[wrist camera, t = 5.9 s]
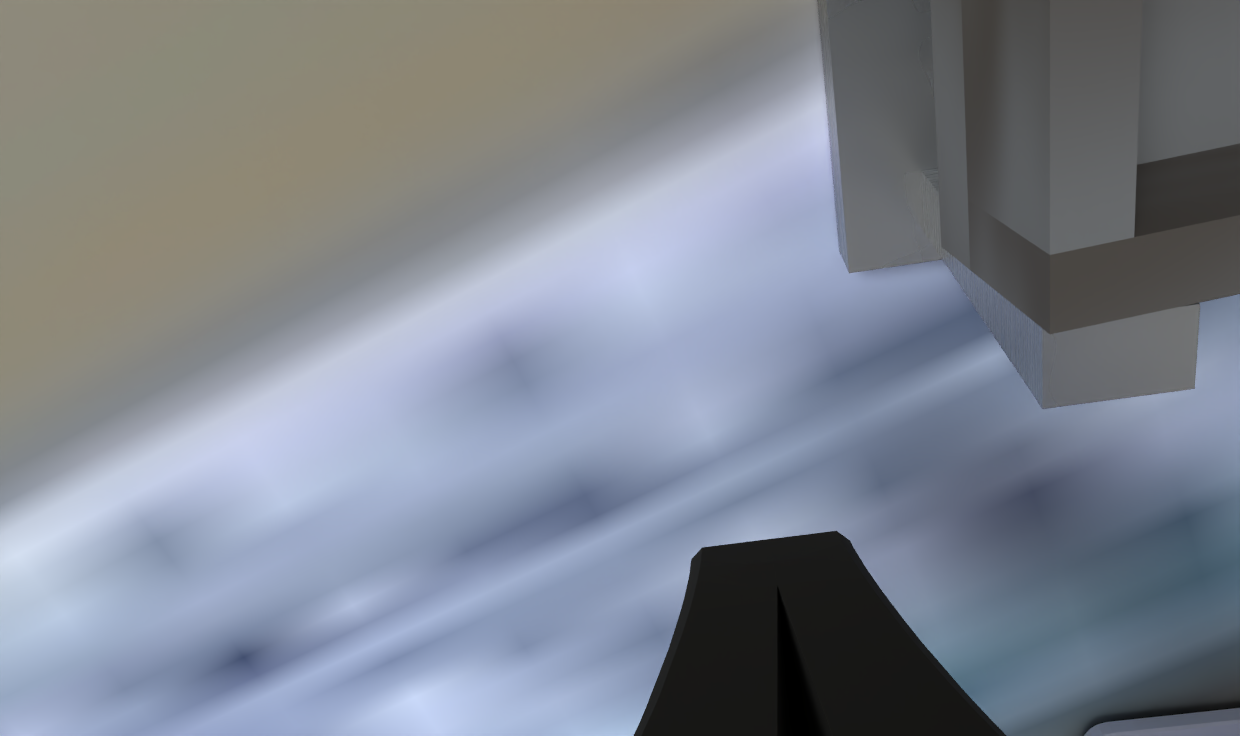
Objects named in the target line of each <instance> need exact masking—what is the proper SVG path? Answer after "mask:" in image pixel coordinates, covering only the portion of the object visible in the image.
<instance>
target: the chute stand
mask: <svg viewBox="0 0 1240 736" xmlns="http://www.w3.org/2000/svg"><path fill="white" fill-rule="evenodd" d="M818 12H819V23H820V35H821V46H822V58H823V69H824V81H825V92H826V104H827V115H828V126H829V138H830V149H831V161H832V172H833V184H834V195H835V207H836V218H837V230H838V241H839V252H840V254H841V256H842V258H843V261H844V263H845V265H846V267H847V270H848V272H849V273H854V272H861V271H867V270H874V269H881V268H888V267H895V266H901V265H908V264H915V263H922V262H929V261H935V260H943V261H944V263H945V264H946V266H947V267H948V269H949V270H950V272H951V273H952V275H953V276H954V278H955V279H956V280H957V282H958V283H959V285H960V286H961V288H962V289H963V291H964V292H965V294H966V295H967V297H968V298H969V300H970V301H971V303H972V304H973V306H974V307H975V309H976V310H977V312H978V313H979V315H980V316H981V318H982V319H983V321H984V322H985V324H986V325H987V327H988V328H989V330H990V331H991V333H992V334H993V336H994V337H995V339H996V340H997V342H998V343H999V345H1000V346H1001V348H1002V349H1003V351H1004V352H1005V354H1006V355H1007V357H1008V358H1009V360H1010V361H1011V362H1012V364H1013V365H1014V367H1015V368H1016V370H1017V371H1018V373H1019V374H1020V376H1021V377H1022V379H1023V380H1024V382H1025V383H1026V385H1027V386H1028V388H1029V389H1030V391H1031V392H1032V394H1033V395H1034V397H1035V398H1036V400H1037V401H1038V403H1039V404H1040V406H1041V407H1042V409H1046V408H1053V407H1061V406H1068V405H1076V404H1083V403H1091V402H1098V401H1106V400H1113V399H1121V398H1128V397H1136V396H1143V395H1151V394H1158V393H1166V392H1173V391H1181V390H1188V389H1195V375H1196V359H1197V344H1198V328H1199V313H1200V303H1195V304H1190V305H1185V306H1181V307H1176V308H1171V309H1167V310H1162V311H1157V312H1153V313H1148V314H1143V315H1139V316H1134V317H1129V318H1125V319H1120V320H1115V321H1111V322H1106V323H1101V324H1096V325H1092V326H1087V327H1082V328H1078V329H1073V330H1068V331H1064V332H1059V333H1054V334H1049V333H1047V332H1046V331H1045V330H1044V329H1042V328H1041V327H1040V326H1039V325H1037V324H1036V323H1035V322H1034V321H1033V320H1031V319H1030V318H1029V317H1028V316H1026V315H1025V314H1024V313H1023V312H1021V311H1020V310H1019V309H1018V308H1016V307H1015V306H1014V305H1013V304H1011V303H1010V302H1009V301H1008V300H1007V299H1005V298H1004V297H1003V296H1002V295H1000V294H999V293H998V292H997V291H995V290H994V289H993V288H992V287H990V286H989V285H988V284H987V283H986V282H984V281H983V280H982V279H981V278H979V277H978V276H977V275H976V274H974V273H973V272H972V271H971V270H969V269H968V268H967V267H966V266H964V265H963V264H962V263H961V262H960V261H958V260H957V259H956V258H955V257H953V256H952V255H951V254H950V253H948V252H947V251H946V250H945V249H943V248H942V247H941V229H940V207H939V185H938V162H937V140H936V118H935V95H934V73H933V50H932V28H931V6H930V0H818Z"/></svg>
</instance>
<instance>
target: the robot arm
mask: <svg viewBox="0 0 1240 736" xmlns="http://www.w3.org/2000/svg"><path fill="white" fill-rule="evenodd" d="M634 736H1006V735H1005V734H1004V733H1003V732H1002V731H1001V730H1000V729H999V728H998V727H997V726H996V725H995V723H994V722H993V721H992V720H991V719H990V718H989V717H988V716H987V715H986V714H985V713H984V712H983V711H982V710H981V709H980V708H979V707H978V706H977V704H976V703H975V702H974V701H973V700H972V699H971V698H970V697H969V696H968V695H967V694H966V693H965V692H964V690H963V689H962V688H961V687H960V686H959V685H958V684H957V682H956V681H955V680H954V679H953V678H952V677H951V675H950V674H949V673H948V672H947V671H946V670H945V669H944V667H943V666H942V665H941V664H940V663H939V662H938V660H937V659H936V658H935V657H934V656H933V655H932V654H931V652H930V651H929V650H928V649H927V648H926V647H925V645H924V644H923V643H922V642H921V641H920V639H919V638H918V637H917V636H916V635H915V633H914V632H913V631H912V630H911V628H910V627H909V626H908V625H907V623H906V622H905V621H904V620H903V618H902V617H901V616H900V614H899V613H898V612H897V610H896V609H895V608H894V606H893V605H892V604H891V602H890V601H889V600H888V598H887V597H886V596H885V595H884V593H883V592H882V590H881V589H880V588H879V586H878V585H877V583H876V582H875V581H874V579H873V578H872V576H871V575H870V573H869V572H868V570H867V569H866V567H865V566H864V564H863V563H862V561H861V559H860V558H859V556H858V555H857V553H856V551H855V549H854V548H853V546H852V544H851V542H850V540H848V539H847V538H846V537H844V536H843V535H841V534H840V533H839V532H837V531H832V532H824V533H816V534H808V535H800V536H792V537H784V538H776V539H768V540H760V541H752V542H743V543H735V544H727V545H719V546H711V547H703V548H701V550H700V551H699V552H698V553H697V554H696V555H695V556H694V557H693V558H692V560H691V567H690V575H689V580H688V584H687V589H686V593H685V597H684V601H683V605H682V609H681V612H680V615H679V619H678V622H677V625H676V628H675V631H674V634H673V637H672V640H671V644H670V647H669V650H668V652H667V655H666V658H665V660H664V663H663V665H662V668H661V670H660V673H659V676H658V678H657V681H656V683H655V686H654V689H653V691H652V694H651V696H650V699H649V702H648V704H647V707H646V709H645V712H644V714H643V716H642V719H641V721H640V723H639V726H638V728H637V730H636V732H635V734H634ZM1084 736H1240V708H1234V709H1224V710H1215V711H1206V712H1196V713H1187V714H1178V715H1168V716H1159V717H1149V718H1140V719H1131V720H1121V721H1112V722H1105V723H1101V724H1097V725H1095V726H1094V727H1092V728H1090V729H1089V730H1088V731H1087V733H1086V734H1085V735H1084Z"/></svg>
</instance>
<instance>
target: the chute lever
mask: <svg viewBox="0 0 1240 736" xmlns="http://www.w3.org/2000/svg"><path fill="white" fill-rule="evenodd" d="M930 6H931V28H932V50H933V73H934V95H935V118H936V140H937V162H938V185H939V207H940V229H941V247H942V248H943V249H945V250H946V251H947V252H948V253H950V254H951V255H952V256H953V257H955V258H956V259H957V260H958V261H960V262H961V263H962V264H963V265H964V266H966V267H967V268H968V269H969V270H971V271H972V272H973V273H974V274H976V275H977V276H978V277H979V278H981V279H982V280H983V281H984V282H986V283H987V284H988V285H989V286H990V287H992V288H993V289H994V290H995V291H997V292H998V293H999V294H1000V295H1002V296H1003V297H1004V298H1005V299H1007V300H1008V301H1009V302H1010V303H1011V304H1013V305H1014V306H1015V307H1016V308H1018V309H1019V310H1020V311H1021V312H1023V313H1024V314H1025V315H1026V316H1028V317H1029V318H1030V319H1031V320H1033V321H1034V322H1035V323H1036V324H1037V325H1039V326H1040V327H1041V328H1042V329H1044V330H1045V331H1046V332H1047V333H1049V334H1054V333H1059V332H1064V331H1068V330H1073V329H1078V328H1082V327H1087V326H1092V325H1096V324H1101V323H1106V322H1111V321H1115V320H1120V319H1125V318H1129V317H1134V316H1139V315H1143V314H1148V313H1153V312H1157V311H1162V310H1167V309H1171V308H1176V307H1181V306H1185V305H1190V304H1195V303H1199V302H1204V301H1209V300H1213V299H1218V298H1223V297H1227V296H1232V295H1237V294H1240V0H930Z"/></svg>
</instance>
